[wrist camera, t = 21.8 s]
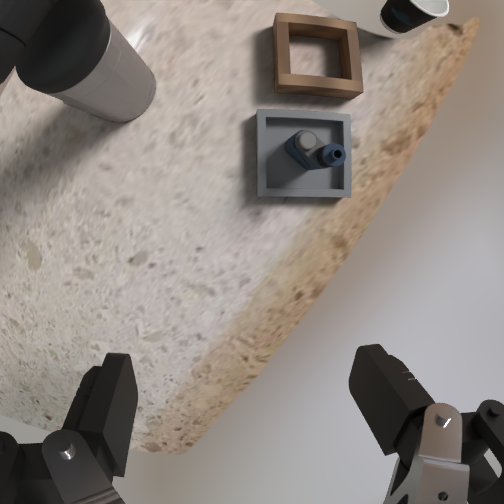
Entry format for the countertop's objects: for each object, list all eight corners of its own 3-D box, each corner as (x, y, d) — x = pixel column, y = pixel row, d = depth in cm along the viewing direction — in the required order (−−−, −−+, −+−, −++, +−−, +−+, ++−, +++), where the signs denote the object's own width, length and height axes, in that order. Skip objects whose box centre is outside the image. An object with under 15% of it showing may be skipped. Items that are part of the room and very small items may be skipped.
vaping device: (309, 174, 40) (338, 173, 28) (279, 147, 39) (297, 134, 27) (322, 160, 39) (355, 154, 27) (292, 133, 38) (315, 115, 26)
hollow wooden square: (274, 92, 37) (278, 84, 33) (272, 25, 35) (276, 12, 31) (352, 99, 38) (363, 92, 34) (346, 33, 35) (356, 22, 32)
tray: (256, 195, 40) (258, 196, 38) (256, 113, 38) (257, 109, 35) (344, 196, 41) (351, 197, 38) (343, 118, 38) (350, 114, 36)
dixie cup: (408, 9, 34) (441, -19, 23) (417, 46, 36) (455, 23, 25) (367, -2, 34) (394, -35, 23) (374, 36, 36) (407, 6, 25)
